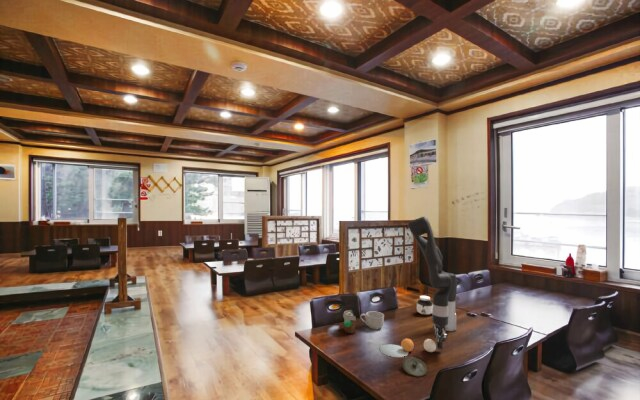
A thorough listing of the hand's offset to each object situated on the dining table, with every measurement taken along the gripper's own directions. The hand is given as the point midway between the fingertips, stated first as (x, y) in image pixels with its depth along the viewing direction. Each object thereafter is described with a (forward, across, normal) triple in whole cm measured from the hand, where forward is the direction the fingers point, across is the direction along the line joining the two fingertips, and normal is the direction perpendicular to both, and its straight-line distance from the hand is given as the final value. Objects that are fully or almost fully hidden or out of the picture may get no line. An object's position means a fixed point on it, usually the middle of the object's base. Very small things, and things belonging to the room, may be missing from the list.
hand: (439, 348), depth 157 cm
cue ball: (-2, 0, +5) cm, 5 cm away
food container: (+2, +25, +43) cm, 50 cm away
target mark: (+2, 0, +23) cm, 23 cm away
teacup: (+2, +31, +28) cm, 42 cm away
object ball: (-2, 0, +16) cm, 16 cm away
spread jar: (+2, +57, -15) cm, 59 cm away
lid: (+2, -19, +19) cm, 27 cm away
